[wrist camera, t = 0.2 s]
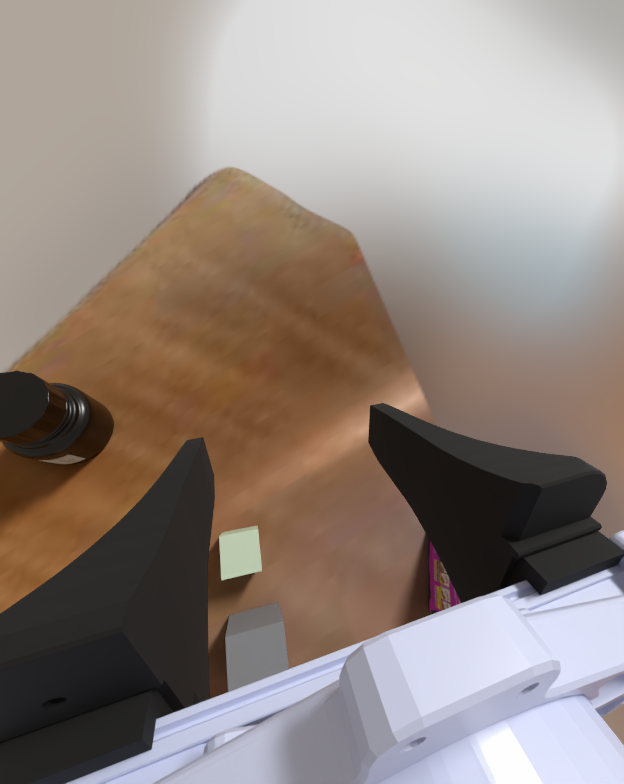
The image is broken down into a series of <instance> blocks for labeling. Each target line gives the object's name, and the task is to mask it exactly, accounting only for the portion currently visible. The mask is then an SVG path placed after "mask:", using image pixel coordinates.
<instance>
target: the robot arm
mask: <svg viewBox="0 0 624 784" xmlns="http://www.w3.org/2000/svg"><path fill="white" fill-rule="evenodd" d="M368 442H369V444H370V446H371V448H372V450H373V452H374V454H375V456H376V458H377V460H378V461H379V463H380V464H381V466H382V467H383V468H384V470H385V471H386V473H387V474H388V475H389V477H390V478H391V480H392V481H393V482H394V484H395V485H396V486H397V488H398V489H399V491H400V492H401V493H402V495H403V496H404V497H405V499H406V500H407V502H408V503H409V505H410V506H411V508H412V509H413V511H414V513H415V515H416V516H417V518H418V520H419V522H420V523H421V525H422V527H423V529H424V530H425V532H426V534H427V536H428V538H429V540H430V541H431V543H432V545H433V547H434V549H435V551H436V553H437V555H438V557H439V559H440V561H441V563H442V565H443V567H444V568H445V570H446V572H447V574H448V576H449V578H450V581H451V583H452V585H453V587H454V589H455V591H456V593H457V596H458V598H459V600H460V602H461V604H458V605H456V606H453V607H450V608H448V609H445V610H442V611H440V612H437V613H434V614H432V615H429V616H426V617H424V618H421V619H418V620H416V621H413V622H410V623H408V624H405V625H402V626H400V627H397V628H394V629H392V630H389V631H386V632H384V633H382V634H380V635H378V636H376V637H373V638H371V639H368V640H365V641H363V642H360V643H357V644H355V645H352V646H349V647H347V648H344V649H341V650H339V651H336V652H333V653H331V654H328V655H325V656H323V657H320V658H317V659H315V660H312V661H309V662H307V663H304V664H301V665H299V666H296V667H293V668H291V669H288V670H285V671H283V672H280V673H277V674H275V675H272V676H269V677H267V678H264V679H262V680H259V681H256V682H254V683H251V684H248V685H246V686H243V687H240V688H238V689H235V690H232V691H230V692H227V693H224V694H222V695H219V696H216V697H214V698H211V699H210V693H209V663H208V557H209V546H210V537H211V528H212V519H213V510H214V500H215V491H214V474H213V470H212V467H211V463H210V460H209V456H208V453H207V449H206V446H205V442H204V439H203V437H202V438H196V439H191V440H187V441H186V442H185V443H184V445H183V446H182V448H181V449H180V450H179V452H178V453H177V455H176V456H175V457H174V459H173V460H172V462H171V463H170V464H169V466H168V467H167V468H166V470H165V471H164V472H163V473H162V475H161V476H160V477H159V479H158V480H157V481H156V482H155V484H154V485H153V486H152V487H151V488H150V490H149V491H148V492H147V493H146V494H145V495H144V497H143V498H142V499H141V500H140V501H139V502H138V503H137V504H136V505H135V506H134V507H133V508H132V509H131V510H130V511H129V512H128V513H127V514H126V515H125V516H124V517H123V518H122V519H121V520H120V521H119V522H118V523H117V524H116V525H115V526H114V527H113V528H112V529H110V530H109V531H108V532H107V533H106V534H105V535H104V536H103V537H101V538H100V539H99V540H98V541H97V542H96V543H95V544H94V545H92V546H91V547H90V548H89V549H88V550H86V551H85V552H84V553H83V554H82V555H80V556H79V557H78V558H77V559H75V560H74V561H73V562H72V563H70V564H69V565H68V566H66V567H65V568H64V569H62V570H61V571H60V572H59V573H57V574H56V575H55V576H53V577H52V578H51V579H49V580H48V581H46V582H45V583H44V584H42V585H41V586H40V587H38V588H37V589H35V590H34V591H32V592H31V593H30V594H28V595H27V596H25V597H24V598H22V599H21V600H20V601H18V602H17V603H15V604H14V605H12V606H11V607H10V608H8V609H7V610H5V611H4V612H2V613H1V614H0V784H624V745H623V744H622V743H621V741H620V740H619V739H618V738H617V736H616V735H615V734H614V733H613V731H612V730H611V729H610V728H609V726H608V725H607V724H606V723H605V722H604V720H603V719H602V718H601V717H603V716H605V715H607V714H608V713H610V712H612V711H613V710H615V709H616V708H618V707H620V706H622V705H624V530H623V531H620V532H618V533H616V534H614V535H613V536H611V537H610V538H609V539H608V538H607V537H605V536H604V535H603V534H601V533H600V532H599V531H598V530H600V529H601V524H600V523H598V522H597V521H596V520H594V519H593V518H592V517H590V516H591V514H592V513H593V511H594V509H595V508H596V506H597V504H598V503H599V501H600V499H601V497H602V496H603V494H604V492H605V489H606V485H607V481H606V477H605V474H604V473H602V472H601V471H600V470H598V469H596V468H595V467H593V466H591V465H589V464H588V463H586V462H584V461H583V460H581V459H579V458H577V457H572V456H563V455H555V454H546V453H538V452H532V451H526V450H520V449H515V448H510V447H505V446H500V445H496V444H492V443H488V442H484V441H480V440H476V439H473V438H469V437H466V436H463V435H460V434H457V433H454V432H451V431H448V430H446V429H443V428H440V427H438V426H435V425H433V424H430V423H428V422H425V421H423V420H421V419H419V418H416V417H414V416H412V415H410V414H407V413H405V412H403V411H401V410H399V409H396V408H394V407H392V406H389V405H387V404H384V403H381V404H376V405H370V422H369V441H368Z"/></svg>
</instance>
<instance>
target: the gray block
mask: <svg viewBox="0 0 624 784" xmlns="http://www.w3.org/2000/svg"><path fill="white" fill-rule="evenodd" d="M225 642H226V661H227V680H228V692H230V691H232V690H235V689H238V688H240V687H243V686H246V685H248V684H251V683H254V682H256V681H259V680H262V679H264V678H267V677H269V676H272V675H275V674H277V673H280V672H283V671H285V670H288V669H289V667H288V657H287V648H286V639H285V630H284V621H283V617H282V613H281V609H280V606H279V602H277V603H274V604H270V605H266V606H262V607H259V608H255V609H251V610H247V611H243V612H240V613H236V614H232V615H229V620H228V625H227V631H226V636H225Z"/></svg>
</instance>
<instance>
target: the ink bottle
mask: <svg viewBox="0 0 624 784" xmlns="http://www.w3.org/2000/svg"><path fill="white" fill-rule="evenodd" d="M113 428H114V422H113V418H112V415H111V414H110V412H109V411H108V409H107V408H106V407H105V406H104V405H102V404H101V403H99V402H98V401H96V400H95V399H93V398H92V397H90V396H88V395H87V394H85V393H84V392H82V391H81V390H79V389H77V388H75V387H73V386H70V385H66V384H61V383H48V382H46V381H45V380H43V379H41V378H39V377H38V376H36V375H34V374H32V373H25V372H20V371H14V372H7V373H0V441H1V442H2V443H3V445H4V446H5V447H6V448H7V449H8V450H10V451H11V452H13V453H14V454H16V455H19V456H21V457H25V458H29V459H34V460H39V461H45V462H50V463H56V464H63V465H70V464H76V463H80V462H83V461H85V460H87V459H89V458H91V457H93V456H94V455H96V454H97V453H98V452H99V451H101V450H102V449H103V448H104V446H105V445H106V444H107V443H108V441H109V439H110V438H111V435H112V433H113Z"/></svg>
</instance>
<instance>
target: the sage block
mask: <svg viewBox="0 0 624 784" xmlns="http://www.w3.org/2000/svg"><path fill="white" fill-rule="evenodd" d="M219 544H220V563H221V580H225V579H230V578H234V577H238V576H242V575H247V574H251V573H255V572H259V571H262V567H261V556H260V545H259V534H258V526H253V527H247V528H242V529H237V530H232V531H227V532H223V533H222V534H221V535H220V536H219Z"/></svg>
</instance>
